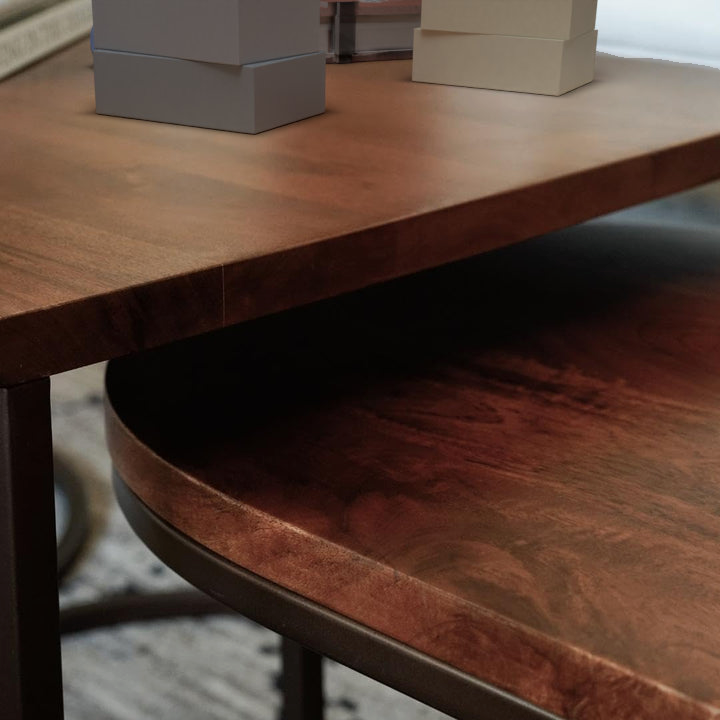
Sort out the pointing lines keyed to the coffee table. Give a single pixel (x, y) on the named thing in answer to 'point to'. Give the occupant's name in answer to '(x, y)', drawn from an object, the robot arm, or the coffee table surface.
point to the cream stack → (507, 44)
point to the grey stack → (209, 62)
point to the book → (368, 29)
